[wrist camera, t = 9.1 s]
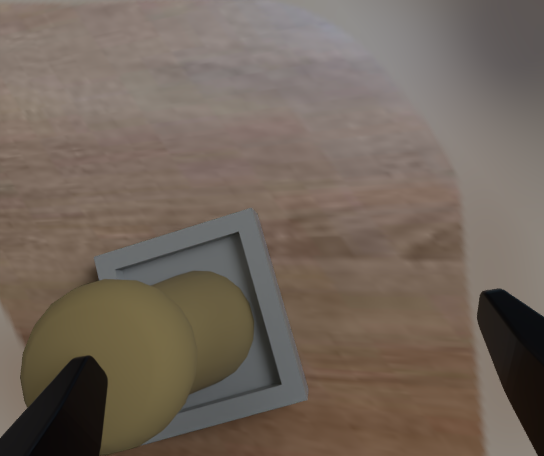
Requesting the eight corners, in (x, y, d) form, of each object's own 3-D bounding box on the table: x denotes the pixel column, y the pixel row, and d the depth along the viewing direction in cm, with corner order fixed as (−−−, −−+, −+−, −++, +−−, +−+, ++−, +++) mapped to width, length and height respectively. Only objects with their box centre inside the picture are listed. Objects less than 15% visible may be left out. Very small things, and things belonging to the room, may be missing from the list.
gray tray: (308, 389, 22) (307, 399, 20) (152, 432, 23) (136, 446, 21) (257, 213, 24) (251, 207, 22) (111, 258, 25) (93, 256, 23)
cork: (169, 404, 22) (21, 528, 11) (128, 298, 23) (-46, 317, 12) (273, 357, 22) (224, 438, 11) (227, 252, 23) (139, 228, 12)
